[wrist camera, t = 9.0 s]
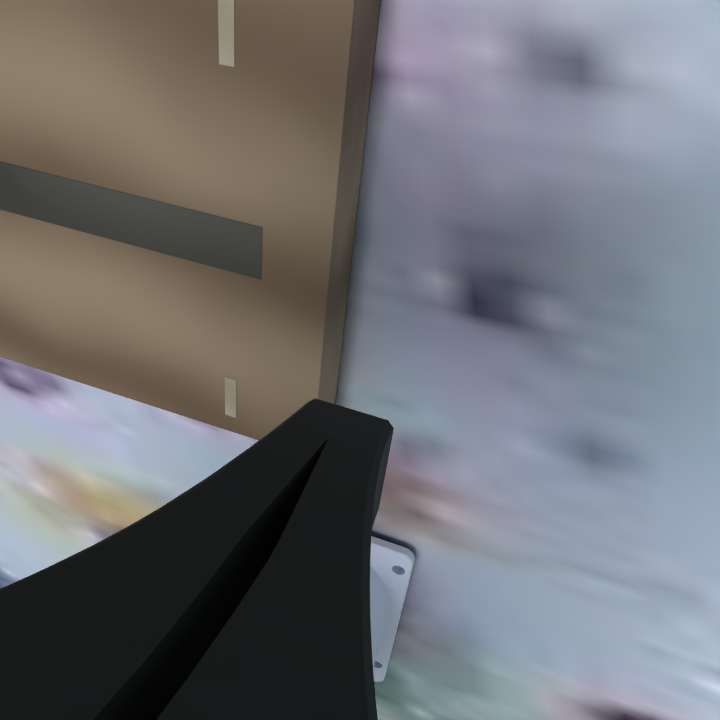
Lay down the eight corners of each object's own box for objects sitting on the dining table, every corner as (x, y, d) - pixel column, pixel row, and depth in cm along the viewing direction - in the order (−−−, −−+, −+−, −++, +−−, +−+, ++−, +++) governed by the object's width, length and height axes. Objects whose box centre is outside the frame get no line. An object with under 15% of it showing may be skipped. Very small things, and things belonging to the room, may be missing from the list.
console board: (333, 421, 23) (312, 457, 22) (-152, 271, 28) (-199, 292, 26) (384, -33, 15) (356, -27, 13) (-318, -144, 19) (-401, -150, 18)
